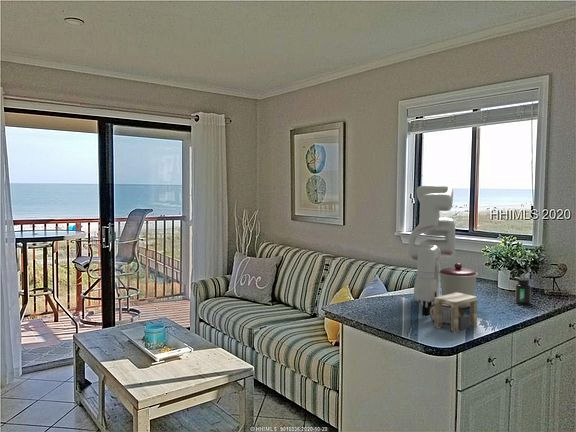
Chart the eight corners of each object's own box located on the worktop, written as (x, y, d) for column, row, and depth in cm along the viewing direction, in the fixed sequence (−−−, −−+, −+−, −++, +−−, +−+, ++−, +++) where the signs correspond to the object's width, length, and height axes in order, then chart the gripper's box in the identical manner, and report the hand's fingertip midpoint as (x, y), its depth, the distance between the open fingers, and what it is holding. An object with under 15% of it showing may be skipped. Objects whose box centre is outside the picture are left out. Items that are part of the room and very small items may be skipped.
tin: (465, 325, 190) (465, 306, 190) (462, 327, 188) (462, 307, 187) (430, 319, 200) (430, 300, 199) (428, 320, 198) (428, 302, 197)
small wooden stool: (434, 326, 190) (434, 297, 189) (456, 320, 198) (456, 292, 197) (455, 332, 181) (455, 302, 181) (476, 325, 190) (477, 296, 189)
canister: (481, 311, 211) (481, 267, 210) (441, 309, 215) (441, 266, 213) (473, 301, 229) (474, 260, 227) (436, 300, 232) (436, 259, 231)
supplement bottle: (523, 305, 220) (524, 281, 219) (512, 302, 226) (512, 278, 225) (533, 304, 222) (534, 280, 222) (522, 300, 229) (522, 277, 228)
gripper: (407, 273, 205) (407, 313, 206) (434, 279, 193) (434, 321, 194) (418, 271, 209) (417, 310, 210) (445, 276, 197) (445, 317, 198)
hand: (425, 315), depth 202 cm, fingers closed
